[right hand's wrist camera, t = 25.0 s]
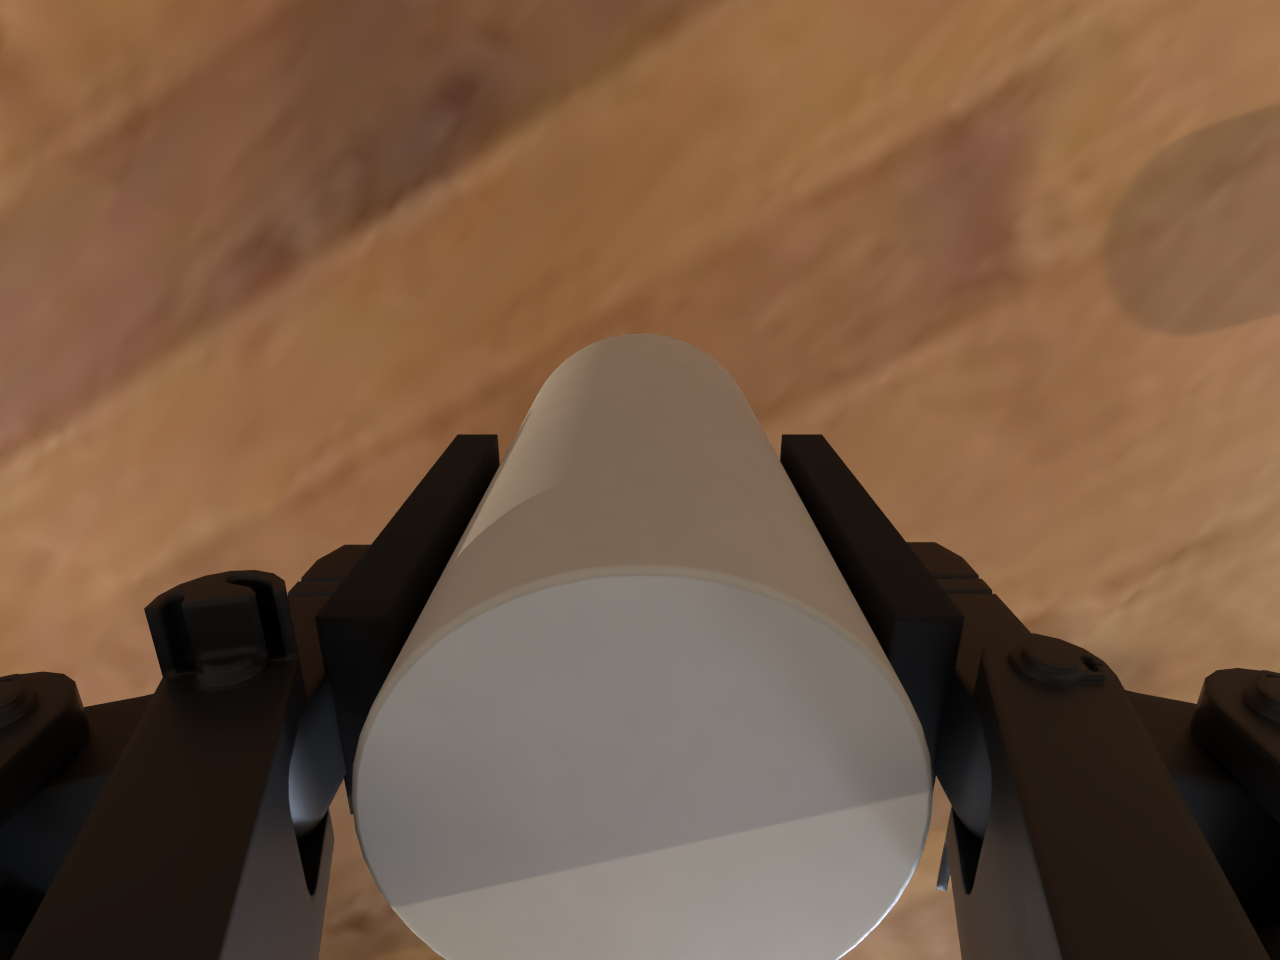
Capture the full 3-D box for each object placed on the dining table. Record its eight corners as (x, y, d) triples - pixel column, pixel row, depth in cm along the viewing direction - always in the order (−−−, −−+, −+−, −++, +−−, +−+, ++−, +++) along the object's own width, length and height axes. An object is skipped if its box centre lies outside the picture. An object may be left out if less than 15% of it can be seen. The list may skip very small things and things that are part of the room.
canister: (481, 409, 17) (221, 747, 6) (682, 286, 16) (767, 446, 5) (604, 585, 19) (559, 1083, 8) (794, 483, 18) (1023, 898, 7)
